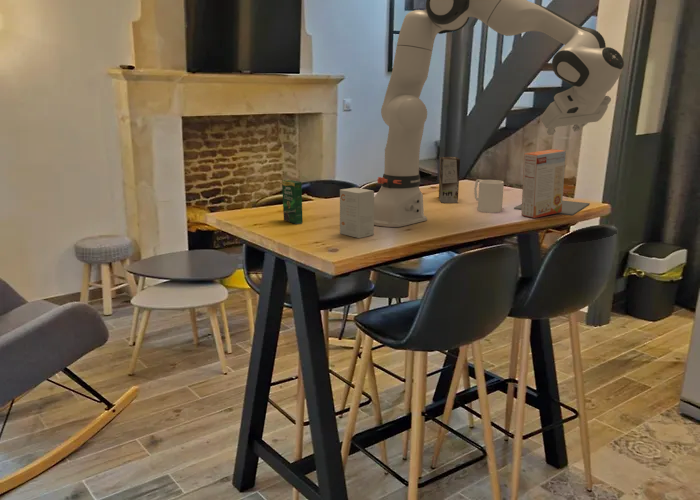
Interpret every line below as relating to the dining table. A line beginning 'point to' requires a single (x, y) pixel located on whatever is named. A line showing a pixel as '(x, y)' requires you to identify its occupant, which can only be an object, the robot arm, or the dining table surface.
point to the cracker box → (543, 183)
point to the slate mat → (567, 207)
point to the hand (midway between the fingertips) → (562, 131)
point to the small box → (357, 212)
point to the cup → (489, 195)
